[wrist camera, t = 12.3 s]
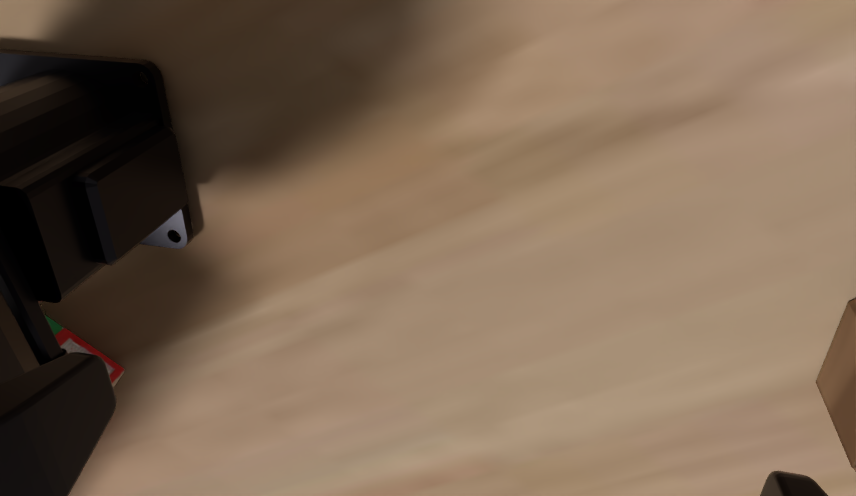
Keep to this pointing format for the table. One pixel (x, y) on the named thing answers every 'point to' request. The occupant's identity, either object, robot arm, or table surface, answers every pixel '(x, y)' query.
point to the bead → (842, 381)
